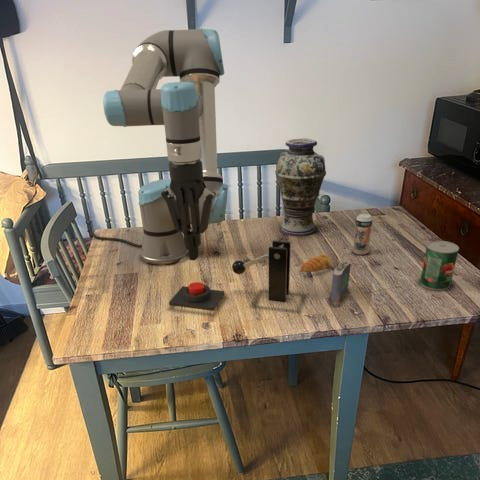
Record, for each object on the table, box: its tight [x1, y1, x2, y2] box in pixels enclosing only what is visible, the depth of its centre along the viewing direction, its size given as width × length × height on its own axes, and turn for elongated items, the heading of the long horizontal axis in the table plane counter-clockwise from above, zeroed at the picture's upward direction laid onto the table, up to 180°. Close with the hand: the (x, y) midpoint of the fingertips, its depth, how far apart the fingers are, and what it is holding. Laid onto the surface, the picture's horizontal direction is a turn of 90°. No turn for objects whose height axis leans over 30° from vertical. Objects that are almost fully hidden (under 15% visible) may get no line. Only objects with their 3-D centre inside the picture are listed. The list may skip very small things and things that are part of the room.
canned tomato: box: [419, 240, 460, 291], centre depth 124 cm, size 8×8×11 cm
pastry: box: [300, 254, 333, 273], centre depth 136 cm, size 9×7×4 cm
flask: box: [330, 259, 352, 303], centre depth 119 cm, size 9×3×11 cm, turn 151°
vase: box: [274, 138, 327, 237], centre depth 157 cm, size 17×17×30 cm
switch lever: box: [231, 244, 285, 275], centre depth 117 cm, size 15×4×4 cm, turn 74°
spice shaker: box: [352, 213, 373, 256], centre depth 143 cm, size 5×5×12 cm
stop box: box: [168, 284, 226, 312], centre depth 121 cm, size 12×9×4 cm
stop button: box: [187, 281, 205, 295], centre depth 119 cm, size 4×4×2 cm
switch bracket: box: [268, 240, 292, 303], centre depth 118 cm, size 12×9×16 cm
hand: (194, 257), depth 116 cm, fingers closed
